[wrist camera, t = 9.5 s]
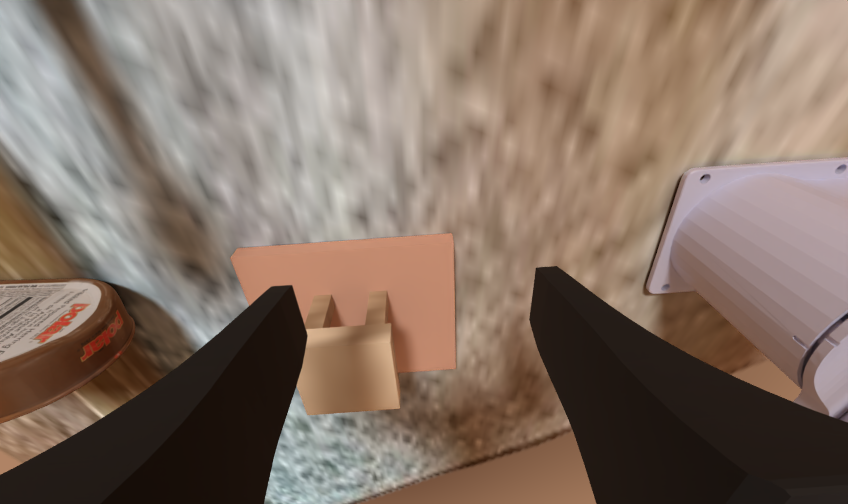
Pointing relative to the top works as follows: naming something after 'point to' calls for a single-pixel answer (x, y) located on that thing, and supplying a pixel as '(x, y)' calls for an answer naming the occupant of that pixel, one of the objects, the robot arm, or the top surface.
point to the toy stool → (349, 361)
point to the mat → (369, 287)
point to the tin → (56, 339)
